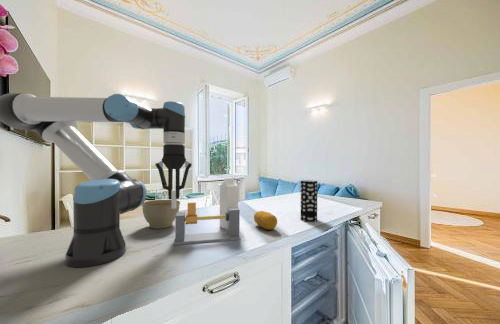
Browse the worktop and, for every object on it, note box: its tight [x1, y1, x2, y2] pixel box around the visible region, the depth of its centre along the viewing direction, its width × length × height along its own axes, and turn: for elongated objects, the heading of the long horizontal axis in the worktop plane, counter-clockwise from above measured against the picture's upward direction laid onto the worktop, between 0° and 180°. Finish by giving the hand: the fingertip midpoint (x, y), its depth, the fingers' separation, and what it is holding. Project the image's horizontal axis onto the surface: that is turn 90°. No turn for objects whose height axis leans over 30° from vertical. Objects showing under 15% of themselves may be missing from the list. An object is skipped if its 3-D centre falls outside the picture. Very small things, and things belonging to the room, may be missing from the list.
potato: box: [253, 210, 278, 231], centre depth 96 cm, size 7×14×7 cm, turn 26°
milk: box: [219, 177, 239, 230], centre depth 97 cm, size 6×6×22 cm
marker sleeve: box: [185, 201, 198, 225], centre depth 80 cm, size 4×3×8 cm
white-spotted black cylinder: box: [300, 180, 318, 223], centre depth 110 cm, size 8×8×20 cm
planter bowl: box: [141, 199, 181, 229], centre depth 98 cm, size 16×16×11 cm
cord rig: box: [173, 206, 241, 246], centre depth 82 cm, size 24×8×11 cm, turn 104°
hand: (173, 207), depth 79 cm, fingers closed
